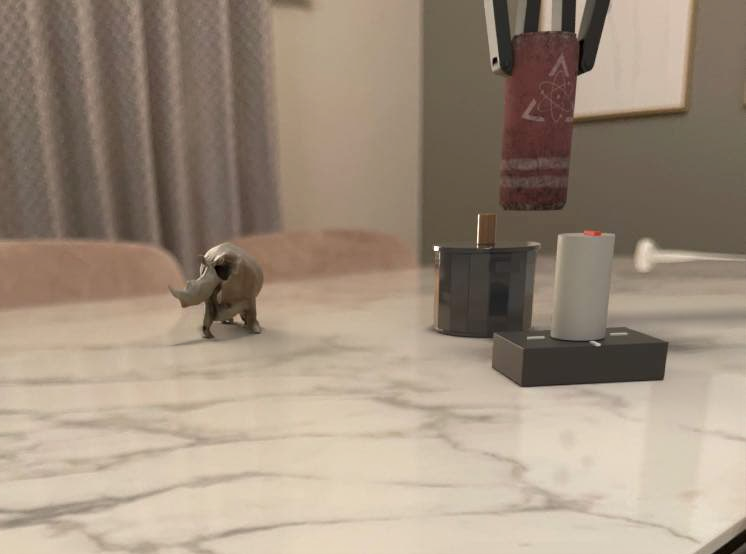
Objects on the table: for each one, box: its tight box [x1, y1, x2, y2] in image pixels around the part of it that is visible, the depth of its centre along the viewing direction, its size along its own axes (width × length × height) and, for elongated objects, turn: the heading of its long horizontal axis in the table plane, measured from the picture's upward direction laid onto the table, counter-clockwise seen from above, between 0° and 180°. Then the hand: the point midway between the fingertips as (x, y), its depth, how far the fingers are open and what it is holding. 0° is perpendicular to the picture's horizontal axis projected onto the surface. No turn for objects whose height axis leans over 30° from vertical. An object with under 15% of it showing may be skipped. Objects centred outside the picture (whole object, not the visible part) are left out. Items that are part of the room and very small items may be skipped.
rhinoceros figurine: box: [167, 241, 265, 339], centre depth 94 cm, size 8×14×15 cm
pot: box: [433, 250, 538, 338], centre depth 92 cm, size 11×16×8 cm, turn 8°
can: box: [498, 30, 580, 212], centre depth 75 cm, size 6×6×14 cm
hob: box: [491, 326, 669, 387], centre depth 71 cm, size 12×9×3 cm
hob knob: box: [550, 230, 616, 341], centre depth 69 cm, size 4×4×8 cm
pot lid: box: [431, 212, 542, 253], centre depth 90 cm, size 11×11×4 cm
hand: (535, 164), depth 76 cm, fingers closed on can
